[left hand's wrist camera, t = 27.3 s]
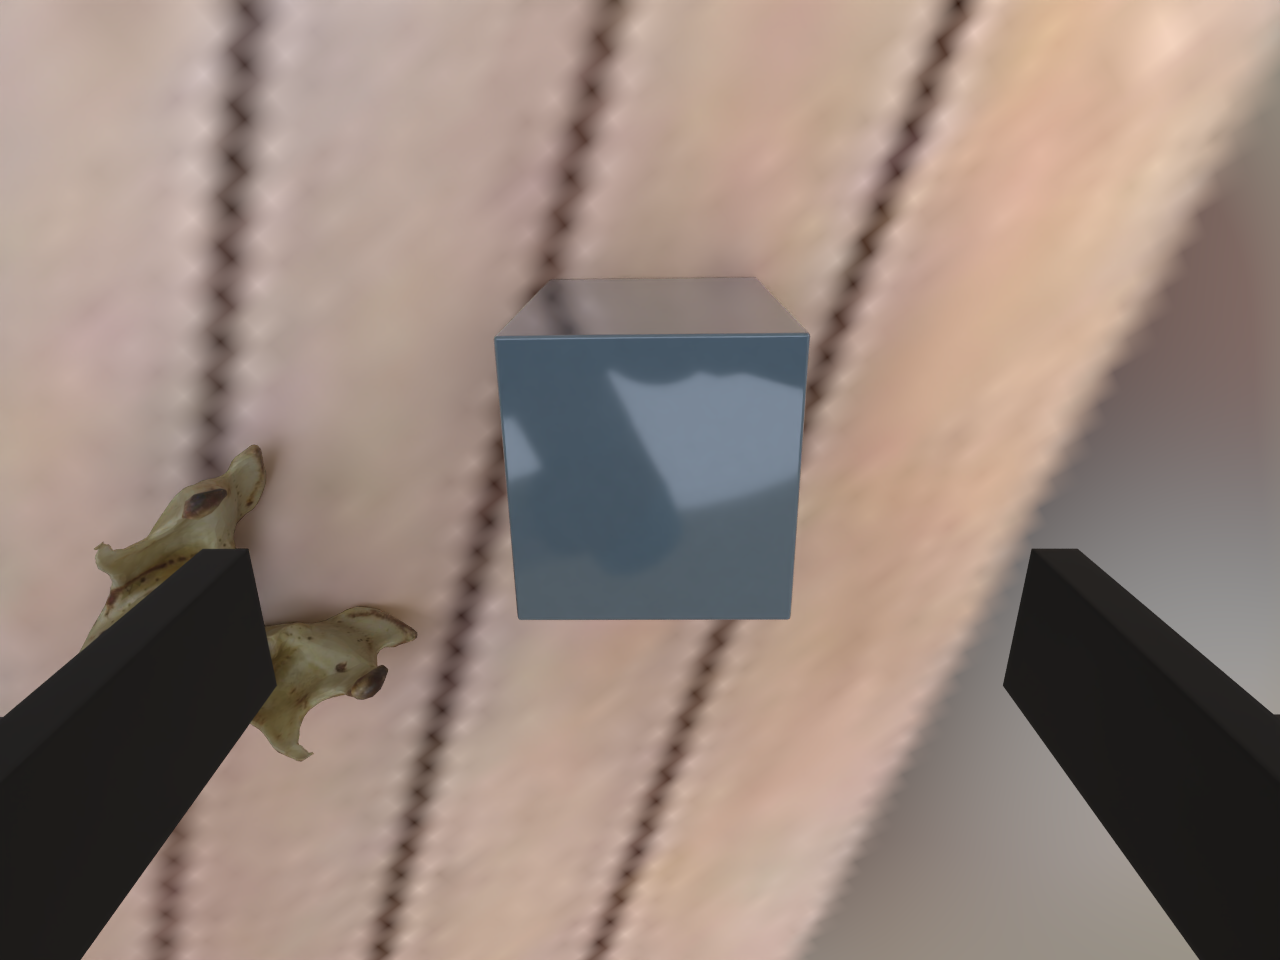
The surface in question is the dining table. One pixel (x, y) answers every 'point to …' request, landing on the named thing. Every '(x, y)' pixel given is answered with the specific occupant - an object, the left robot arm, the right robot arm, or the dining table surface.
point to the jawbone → (300, 652)
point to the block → (653, 449)
